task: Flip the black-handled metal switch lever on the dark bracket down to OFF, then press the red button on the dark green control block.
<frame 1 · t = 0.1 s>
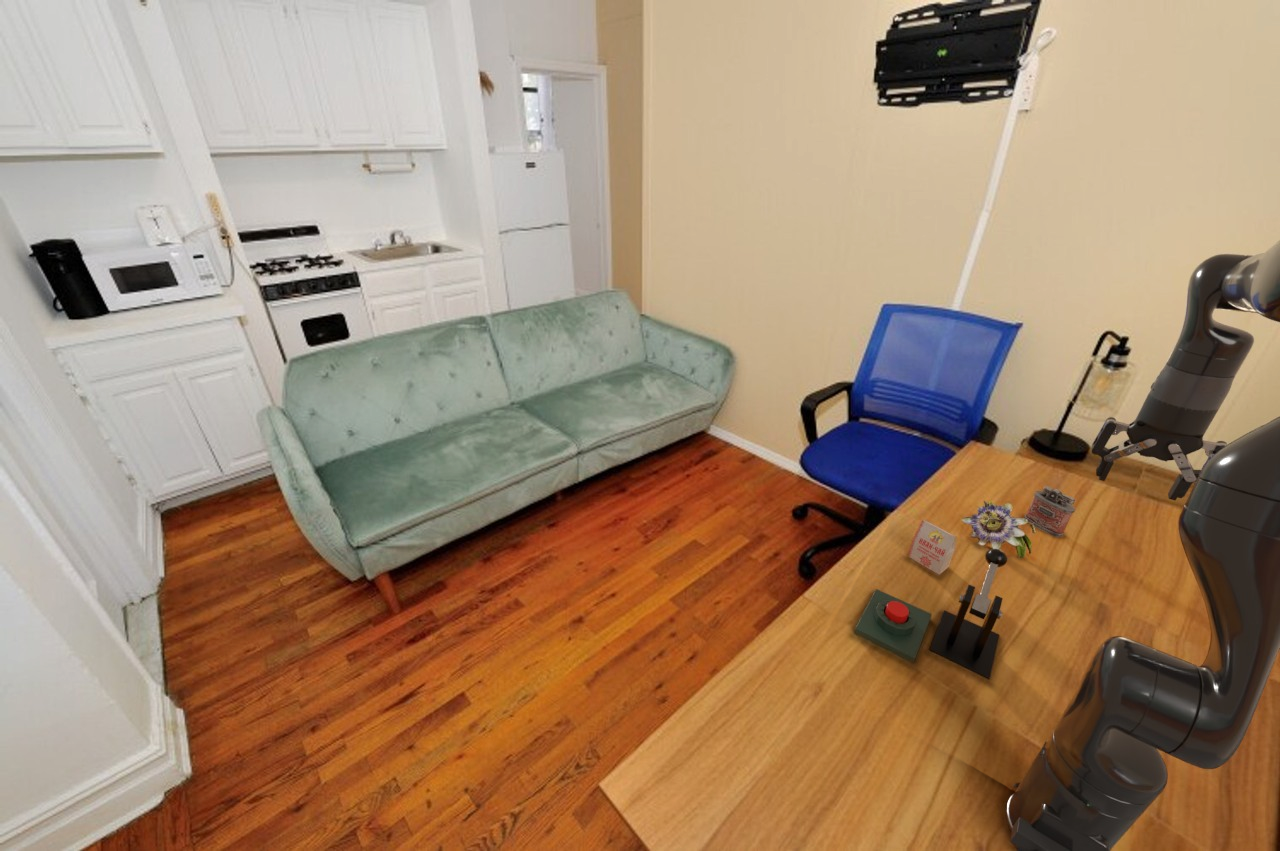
hand: (1135, 487, 82), 29 cm above the table, tool pointing down, fingers open, 8 cm apart
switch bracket: (963, 646, 90), on the table
passion flower: (993, 542, 113), on the table
button: (896, 612, 91), point 4 cm above the table, slide at 0.1 cm
switch: (988, 581, 87), point 12 cm above the table, hinge at 25.0°
tea bag: (926, 565, 108), on the table
lighter: (1042, 527, 118), on the table
button block: (891, 629, 93), on the table
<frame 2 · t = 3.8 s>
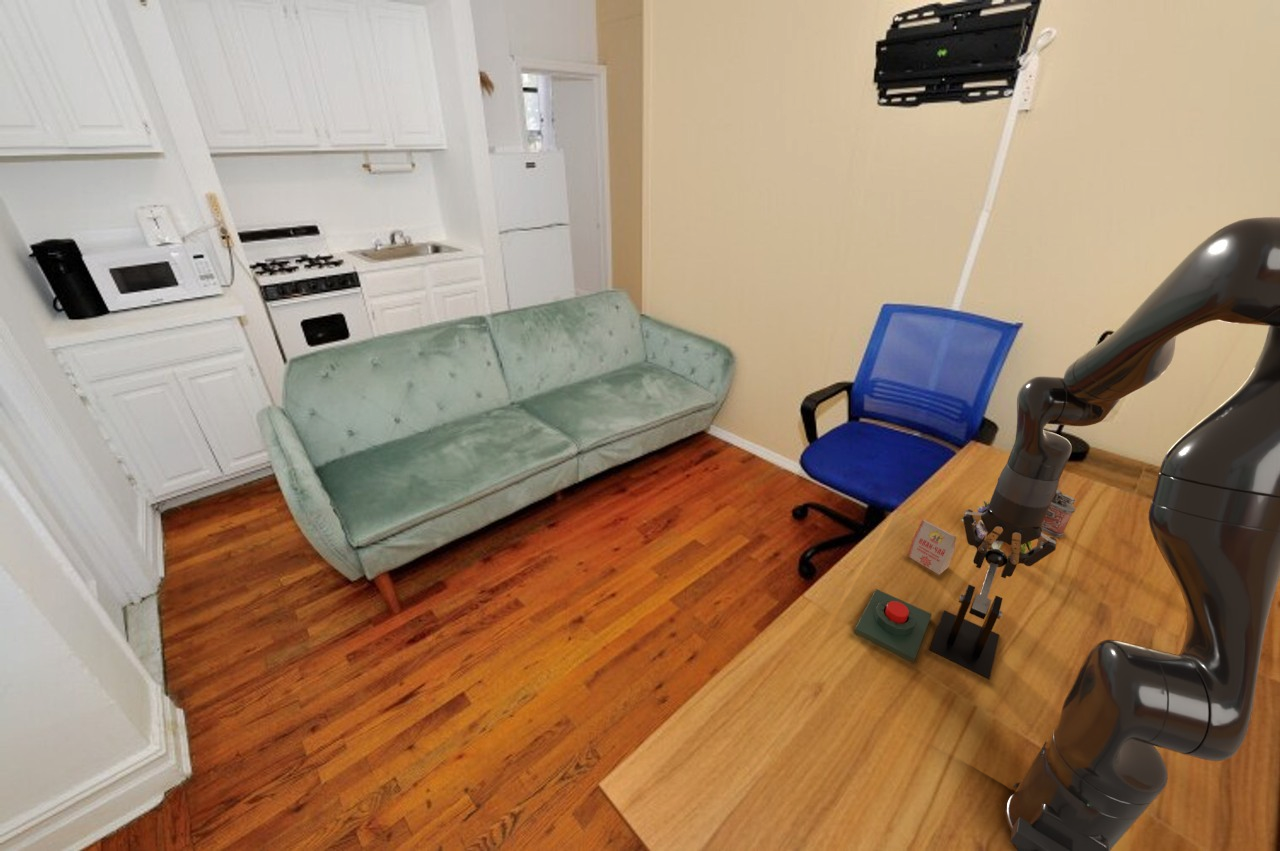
hand: (991, 569, 90), 11 cm above the table, tool pointing down, fingers closed on switch, 3 cm apart
switch: (988, 581, 87), point 12 cm above the table, hinge at 25.0°, touching gripper
everything else where it was.
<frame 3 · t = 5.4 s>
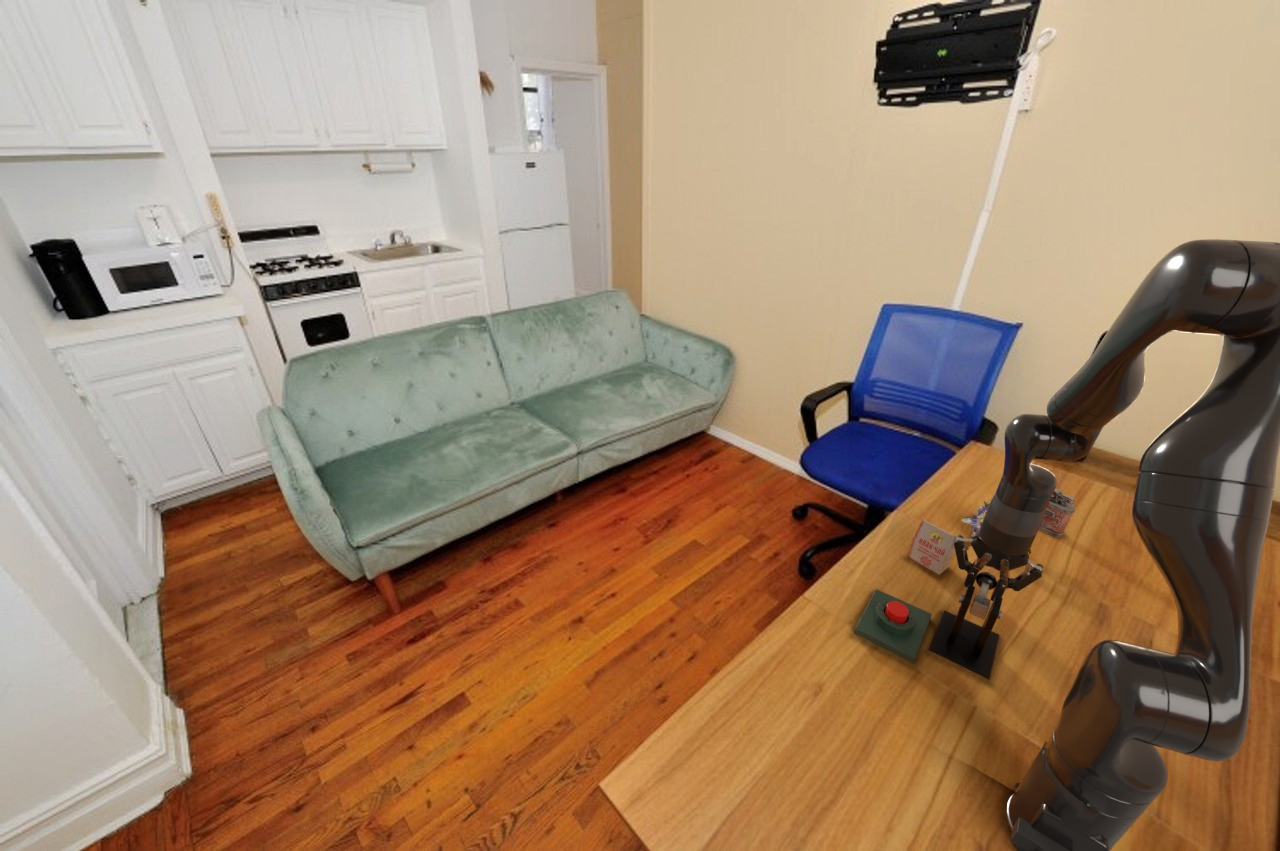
hand: (981, 593, 94), 5 cm above the table, tool pointing down, fingers closed on switch, 3 cm apart
switch: (983, 592, 89), point 9 cm above the table, hinge at -11.0°, touching gripper
everything else where it was.
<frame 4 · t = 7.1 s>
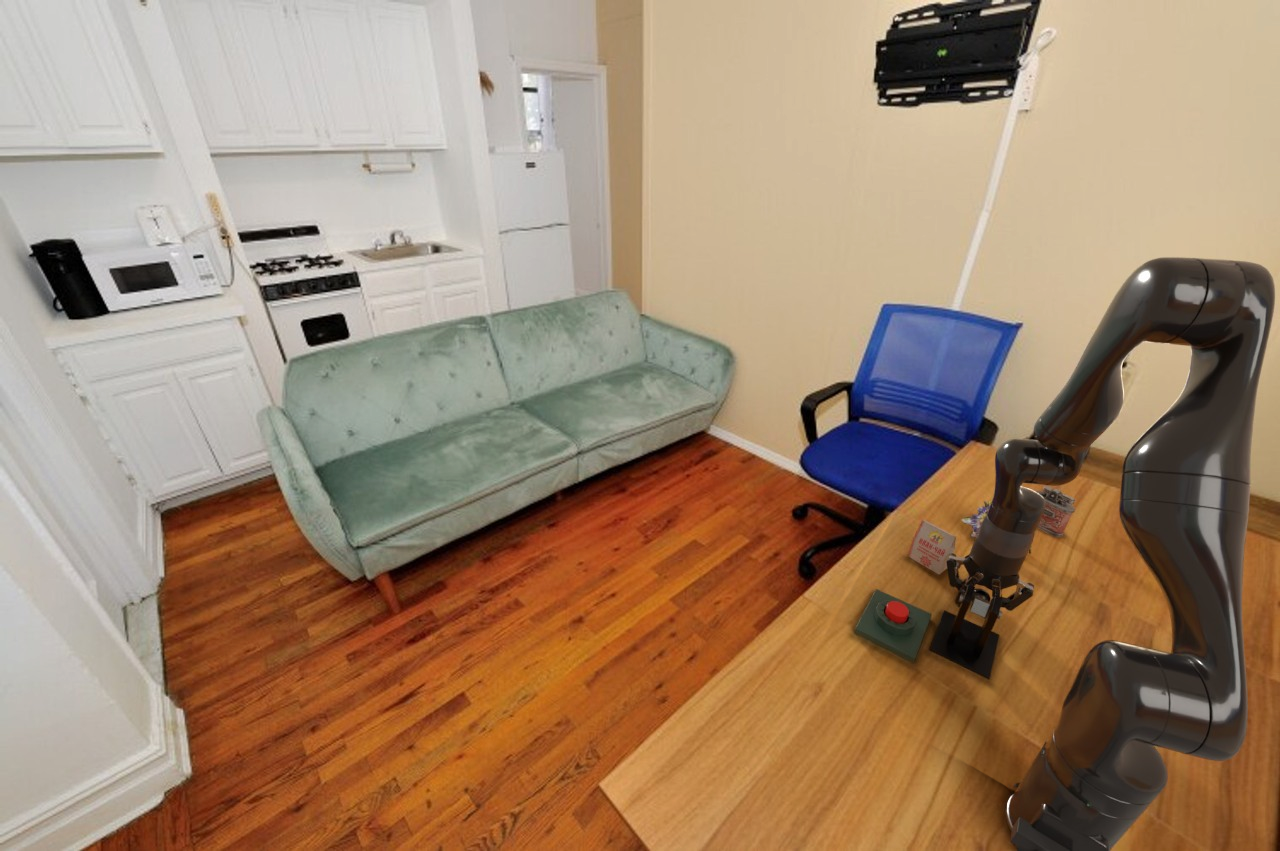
hand: (973, 610, 96), 1 cm above the table, tool pointing down, fingers open, 4 cm apart
switch: (980, 601, 89), point 7 cm above the table, hinge at -30.5°
everything else where it was.
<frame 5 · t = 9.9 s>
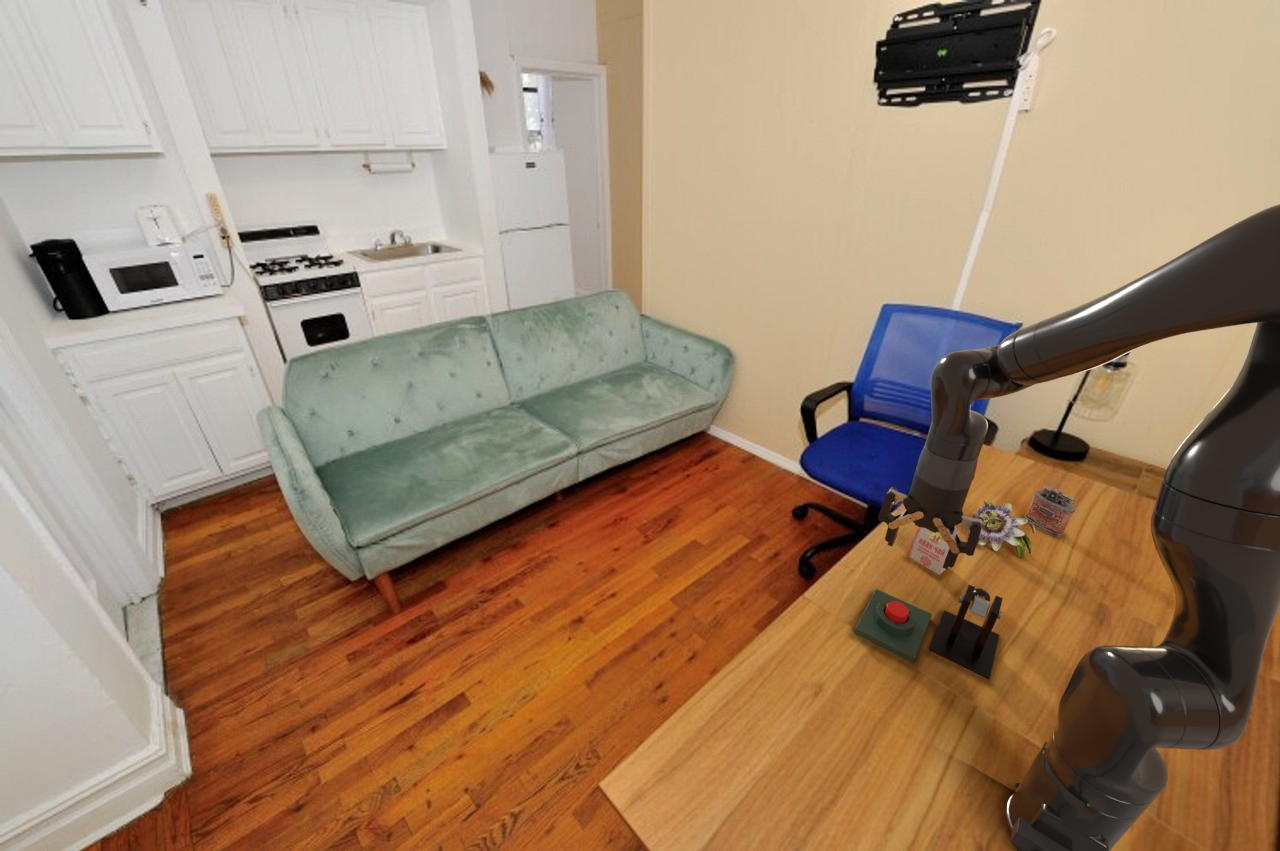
hand: (917, 554, 85), 18 cm above the table, tool pointing down, fingers open, 8 cm apart
nothing on the table moved.
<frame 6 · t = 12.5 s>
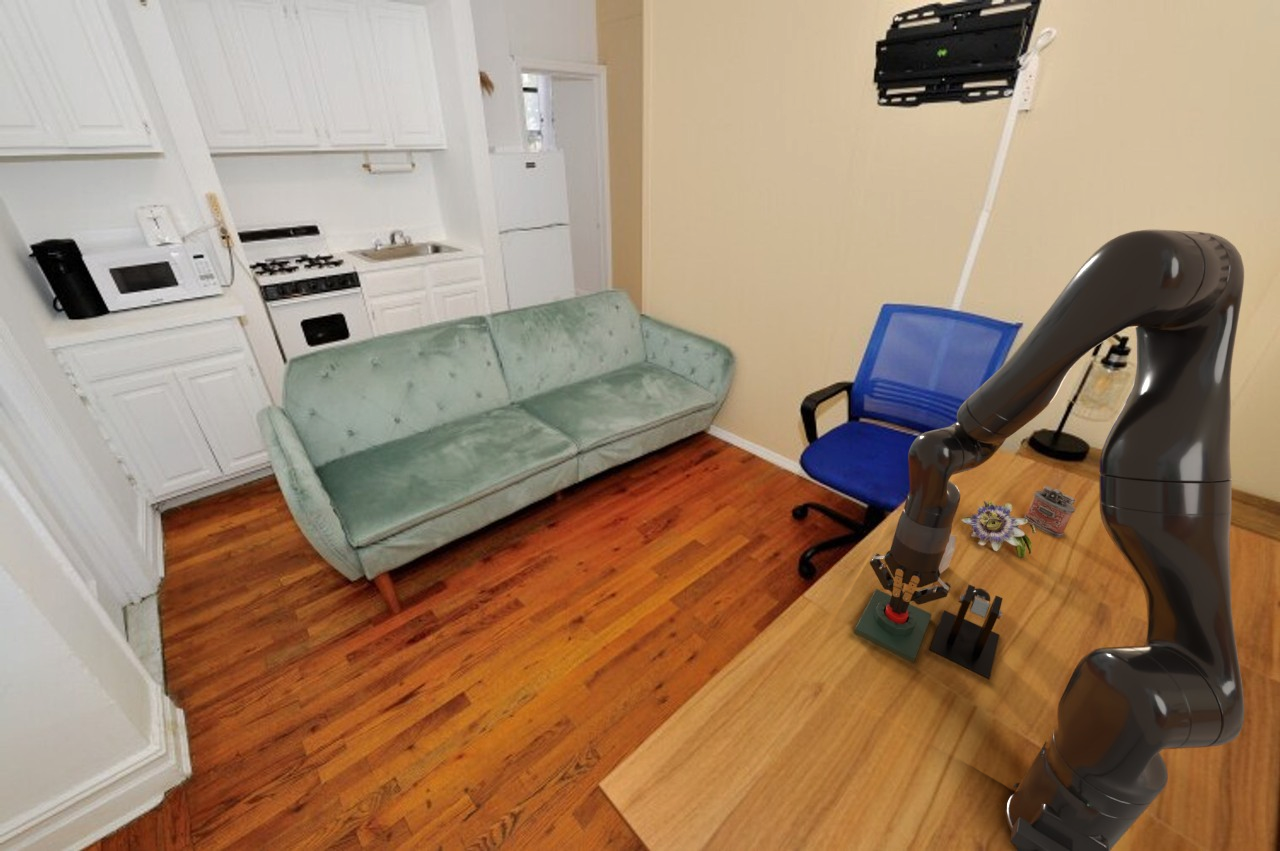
hand: (897, 610, 91), 5 cm above the table, tool pointing down, fingers closed
button: (896, 614, 91), point 4 cm above the table, slide at -0.4 cm, touching gripper
everything else where it was.
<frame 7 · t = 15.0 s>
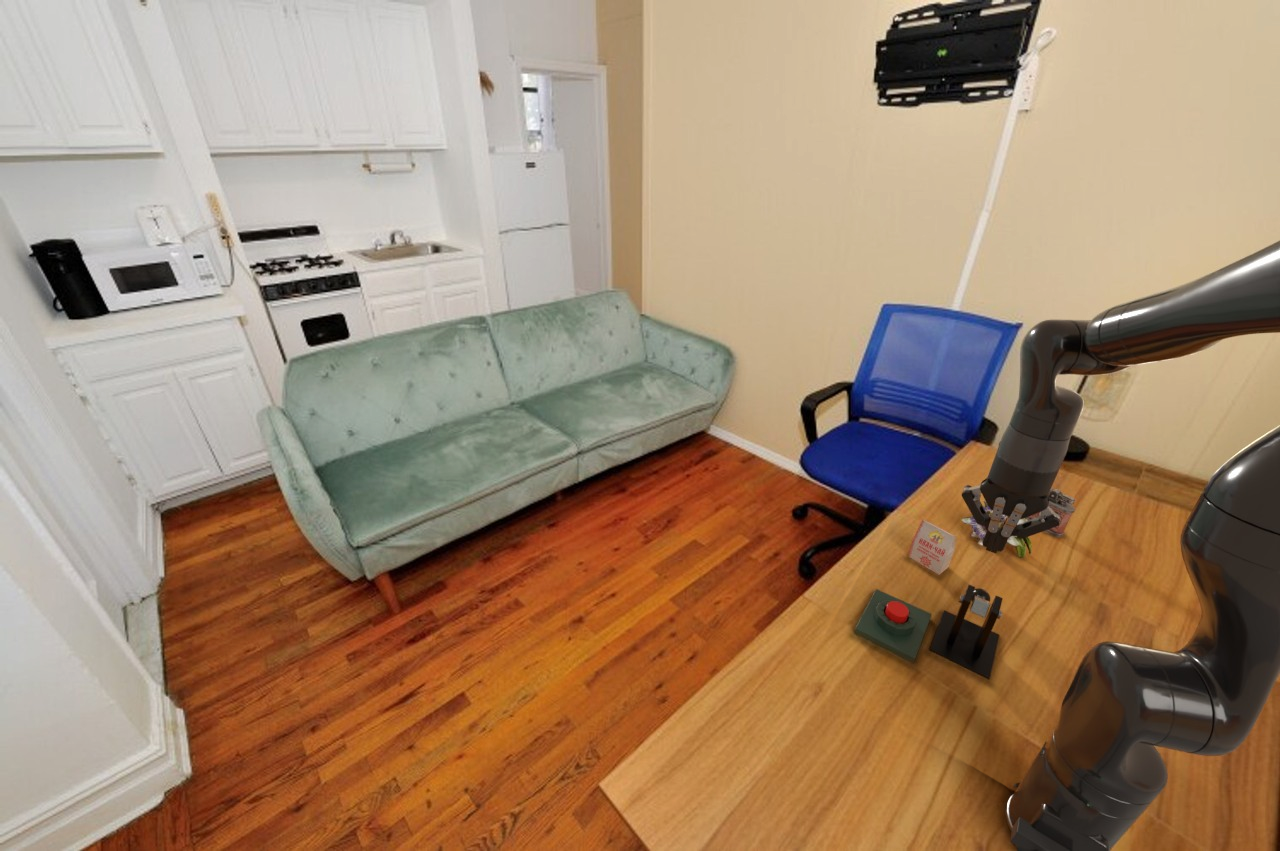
hand: (991, 549, 80), 22 cm above the table, tool pointing down, fingers closed
button: (896, 612, 91), point 4 cm above the table, slide at 0.1 cm
everything else where it was.
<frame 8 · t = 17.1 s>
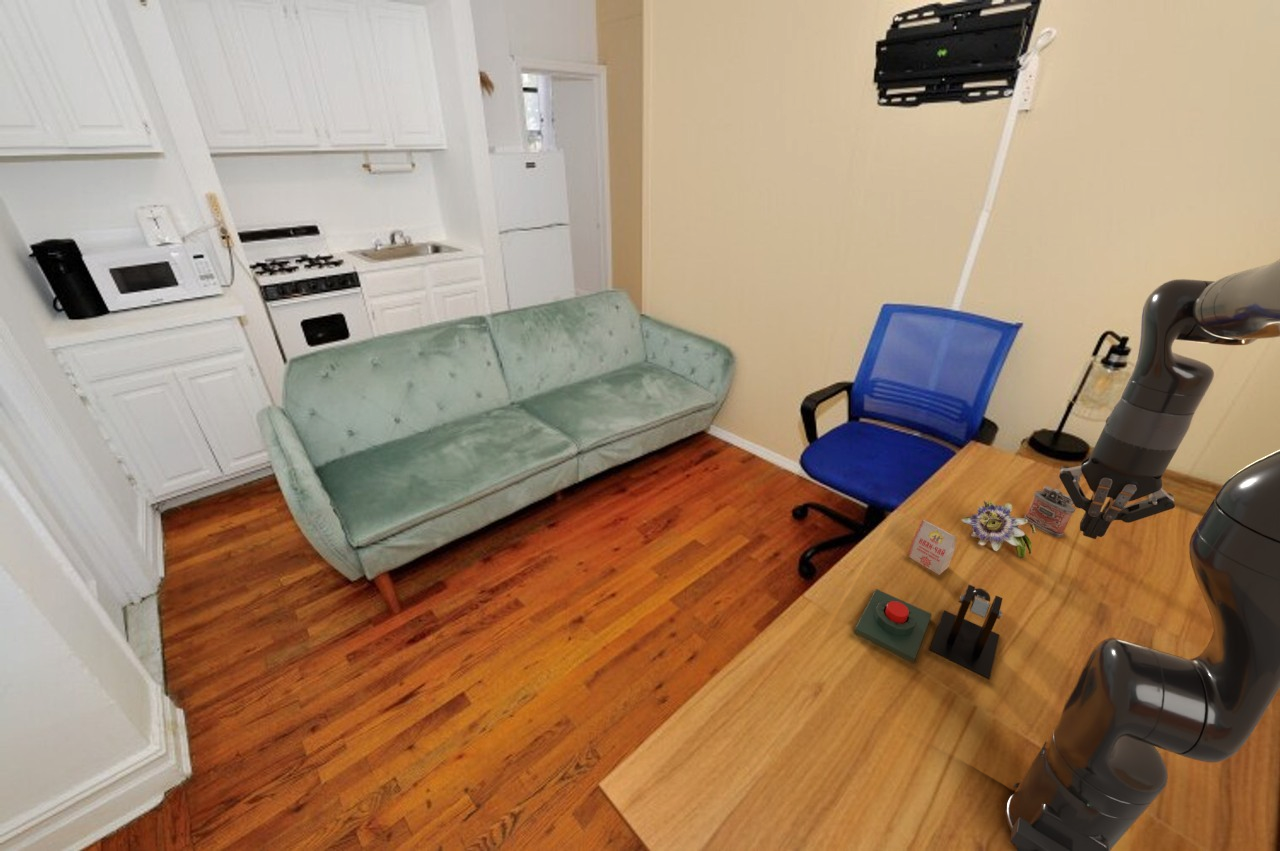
hand: (1089, 534, 75), 27 cm above the table, tool pointing down, fingers closed
nothing on the table moved.
at the end: switch at -30° (first picture: +25°); button pushed in 1.1 cm at the most during the clip, back to where it started at the end; button slide at 0.1 cm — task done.
